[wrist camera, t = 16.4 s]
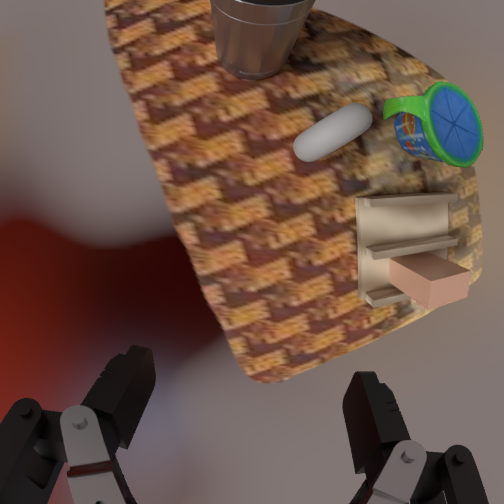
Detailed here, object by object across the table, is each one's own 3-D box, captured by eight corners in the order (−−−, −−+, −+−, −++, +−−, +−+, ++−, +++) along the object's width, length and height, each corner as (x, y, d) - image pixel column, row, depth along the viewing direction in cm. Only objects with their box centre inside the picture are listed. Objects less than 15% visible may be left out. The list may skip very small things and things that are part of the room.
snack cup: (453, 124, 34) (496, 117, 24) (443, 184, 36) (489, 188, 26) (374, 79, 32) (412, 55, 22) (361, 144, 34) (401, 134, 24)
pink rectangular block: (389, 258, 37) (430, 281, 27) (426, 251, 37) (470, 270, 27) (388, 282, 37) (427, 309, 28) (425, 273, 38) (467, 297, 28)
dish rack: (355, 197, 35) (368, 199, 31) (443, 191, 36) (460, 193, 32) (358, 296, 39) (370, 308, 35) (441, 277, 39) (456, 286, 35)
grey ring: (341, 109, 33) (375, 88, 23) (355, 131, 33) (394, 117, 24) (280, 147, 34) (297, 133, 24) (296, 170, 34) (319, 165, 25)
